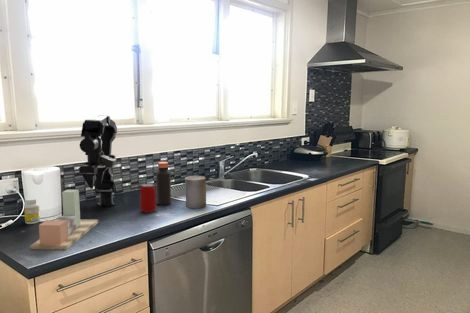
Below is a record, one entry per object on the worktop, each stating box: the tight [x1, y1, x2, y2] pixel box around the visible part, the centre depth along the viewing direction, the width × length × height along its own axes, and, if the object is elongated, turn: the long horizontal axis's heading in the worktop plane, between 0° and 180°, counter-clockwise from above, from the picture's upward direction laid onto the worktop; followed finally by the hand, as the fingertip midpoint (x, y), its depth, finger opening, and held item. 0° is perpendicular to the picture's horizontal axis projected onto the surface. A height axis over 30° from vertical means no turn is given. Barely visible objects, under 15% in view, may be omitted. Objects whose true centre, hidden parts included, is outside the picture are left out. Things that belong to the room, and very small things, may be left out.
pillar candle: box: [184, 175, 207, 209], centre depth 174 cm, size 10×10×15 cm
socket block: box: [38, 219, 68, 244], centre depth 125 cm, size 5×7×7 cm
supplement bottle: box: [23, 198, 41, 225], centre depth 149 cm, size 5×5×10 cm
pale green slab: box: [61, 189, 81, 228], centre depth 132 cm, size 17×4×14 cm, turn 179°
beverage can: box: [139, 183, 157, 213], centre depth 166 cm, size 7×7×12 cm
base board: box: [29, 215, 99, 251], centre depth 136 cm, size 28×12×7 cm, turn 179°
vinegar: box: [155, 161, 172, 206], centre depth 178 cm, size 7×7×20 cm
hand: (95, 186), depth 157 cm, fingers open, 9 cm apart
